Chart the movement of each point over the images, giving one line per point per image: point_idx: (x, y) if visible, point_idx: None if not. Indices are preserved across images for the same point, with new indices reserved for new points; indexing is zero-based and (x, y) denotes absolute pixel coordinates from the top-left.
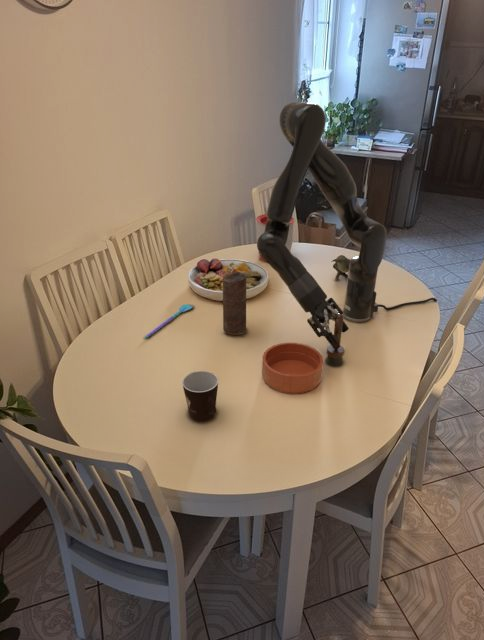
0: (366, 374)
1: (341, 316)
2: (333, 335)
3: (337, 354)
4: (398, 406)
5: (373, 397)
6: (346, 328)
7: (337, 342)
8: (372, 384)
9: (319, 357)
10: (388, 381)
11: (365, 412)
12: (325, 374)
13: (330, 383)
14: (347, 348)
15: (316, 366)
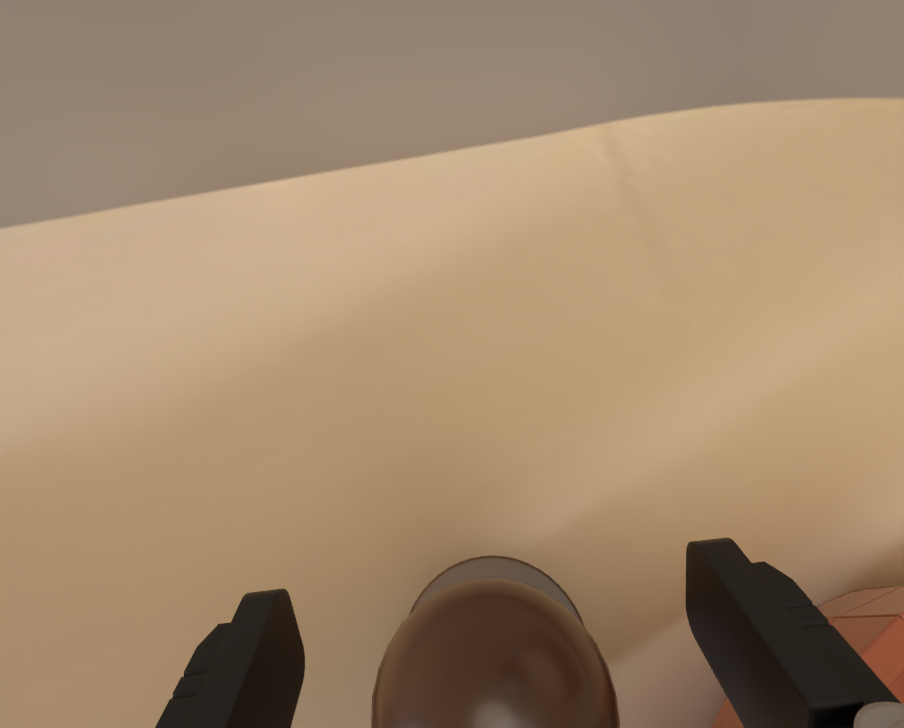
0: (490, 371)
1: (541, 619)
2: (768, 630)
3: (563, 591)
4: (647, 140)
5: (677, 248)
6: (278, 617)
7: (722, 539)
8: (566, 300)
9: None
10: (475, 248)
11: (831, 227)
12: None
13: (772, 524)
14: None
15: None
